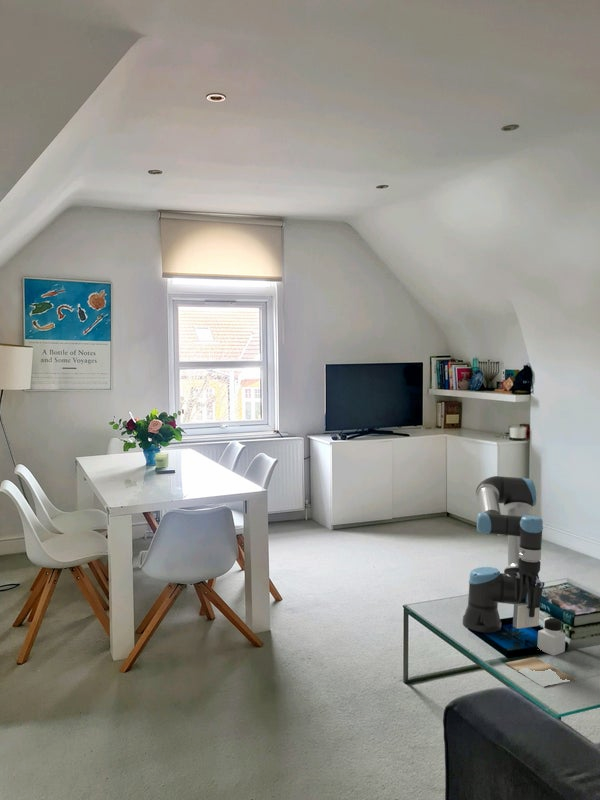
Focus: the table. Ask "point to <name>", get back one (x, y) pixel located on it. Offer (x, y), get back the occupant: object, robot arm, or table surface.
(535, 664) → the mat
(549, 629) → the medicine bottle
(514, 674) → the table surface
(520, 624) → the tile
